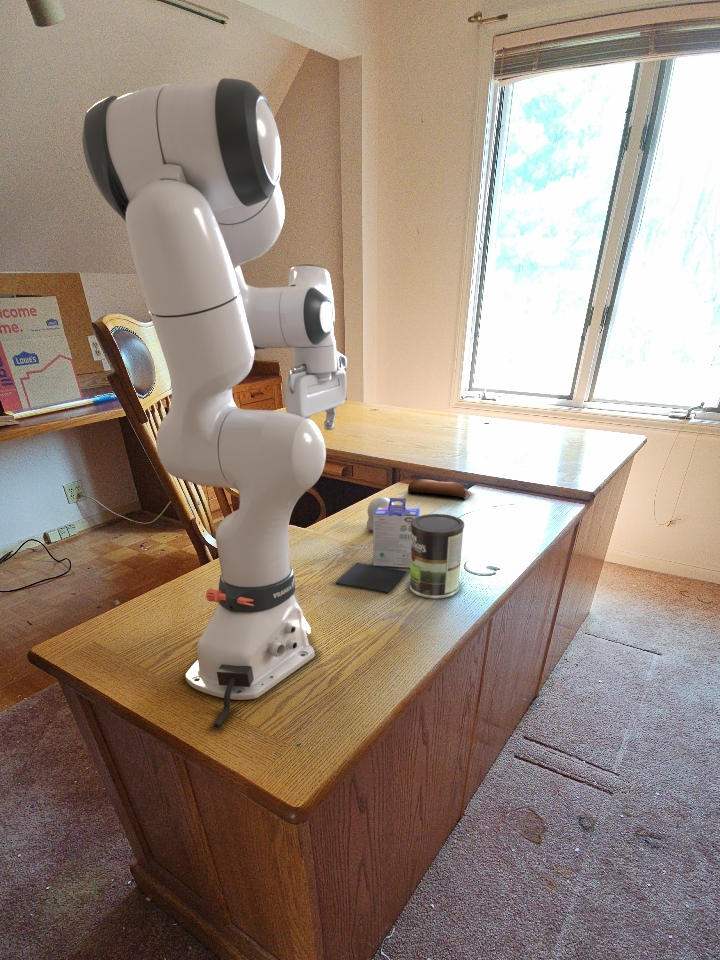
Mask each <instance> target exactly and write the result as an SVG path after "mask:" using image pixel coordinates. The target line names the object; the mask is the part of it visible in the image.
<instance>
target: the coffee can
mask: <svg viewBox="0 0 720 960" xmlns="http://www.w3.org/2000/svg"><path fill="white" fill-rule="evenodd" d="M411 527H412V532H411V568H410V572H409V573H410V575H409V578H410V579H409V589H410V591H411V592H412V593H413V594H415V595H416V596H419V597H422V598H426V599H433V600H434V599H438V600H439V599H445V598H449V597H452V596H454V595H456V594H457V593H458V592H459V590H460V574H461V562H462V551H463V550H462V548H463V536H464V528H465V521H464V520H462V519H461V518H460V517H458V516H454V515H450V514H443V513H429V514H428V513H427V514H423V515H420V516H419V517H416V518H415V519H413V520H412V521H411Z"/></svg>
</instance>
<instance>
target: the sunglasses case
mask: <svg viewBox="0 0 720 960" xmlns="http://www.w3.org/2000/svg"><path fill="white" fill-rule="evenodd" d="M407 493H408V494H410V493H424V494H425V493H429V494H435V495H443V496H453V497H460V498H463V500H467V499H468V498H469V497H470V496H471V494H472V492H471V491H470V490H468V489H467V488H465V486H464V485H463V484H460V483H458V482H456V481H443V480H442V481H437V480H434V479H433V480H432V479H425V478H424V479H415V480H411V481H410V482H409V483H408V487H407Z"/></svg>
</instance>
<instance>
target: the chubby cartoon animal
mask: <svg viewBox="0 0 720 960" xmlns="http://www.w3.org/2000/svg"><path fill="white" fill-rule="evenodd" d="M389 501H390V498H388V497H385V496H378V497H375V498H373V499H372V500H371V501H370V503H368V506H367V510H366V511H367V512H366V513H367V517H368V518H367V521H366V529H367V530H369V531H373V514H374V512H375V511H376V509H377V508H378V507H379V508H388V506H389ZM391 504H392V505H395V503H394V502H392V503H391ZM401 505H403V503H401Z"/></svg>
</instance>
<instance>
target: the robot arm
mask: <svg viewBox="0 0 720 960" xmlns="http://www.w3.org/2000/svg"><path fill="white" fill-rule="evenodd" d="M81 137H82V139H81V140H82V150H83V154H84V159H85V162H86V167H87V168H88V172H89V174H90V177H91V179H92V181H93V183H94V184H95V186H96V188H97V190H98V192H99V193H100V195H101V196H102V197H103V199H104V200H105V201H106V203H107V204H108V205H109V206H110V207H111V208H112V209H113V211H114V212H115V213H116V214H118V215H119V216H120V217H121V219H123V221H124V222H125V224H126V231H127V235H128V241H129V246H130V251H131V256H132V261H133V265H134V268H135V272H136V276H137V279H138V283H139V286H140V289H141V293H142V296H143V299H144V301H145V302H144V303H145V305H146V307H147V310H148V313H149V316H150V319H151V321H152V324H153V328H154V330H155V333H156V336H157V339H158V342H159V345H160V348H161V351H162V353H163V357H164V360H165V363H166V367H167V371H168V374H169V379H170V386H171V400H170V405H169V406H170V407H169V410H168V412H167V414H166V415H165V416H164V417H163V418H162V420H161V422H160V424H159V426H158V429H157V433H156V441H155V442H156V443H155V444H156V452H157V455H158V459H159V461H160V463H161V465H162V466H163V469H164V470H165V471H166V472H167V473H168V474H170V476H172V477H174V478H177V479H180V480H182V481H185V482H188V483H191V484H194V485H197V486H201V487H212V488H213V487H214V488H221V489H233V490H237V491H238V494H239V507H238V509H237V510H234V511H232V512H231V513H229V514H228V515H226V516H225V517H223V519H221V521H220V523H219V524H218V526H217V528H216V530H215V544H216V550H217V553H218V555H217V556H218V562H219V567H220V575H219V582H218V589H215V588H212V587H210V588H207V590H206V593H205V599H206V600H207V602H215V603H217V605H216V608H215V610H214V611H213V613H212V615H211V617H210V619H209V621H208V623H207V624H206V627H205V628H204V630H203V631H202V634H201V636H200V637H199V639H198V642H197V646H196V654H197V655H196V656H197V660H196V661H195V662H194V663H193V664H192V665H191V667H190V668H189V669H188V670H187V671H186V673H184V676H185V677H184V678H185V681H186V683H187V684H188V685H189V686H190V687H192V688H193V689H195V690H196V691H199V692H201V693H204V694H207V695H209V696H214V697H216V698H221V699H223V708H222V712H221V714H220V715H219V717H218V718H217V719H216V721H215V722H214V723H213V727H214V728H215V729H219V728H220V727H221V726H222V724H223V723H224V722H225V720H226V719H227V717H228V715H229V712H230V710H231V709H230V707H231V705H230V704H231V702H230V701H231V700H234V701H235V700H237V701H248V700H255V699H258V698H259V697H262V695H264V694H266V692H268V691H269V690H271V689H272V688H274V687H275V686H276V685H278V684H280V683H281V682H282V681H283V680H285V679H286V678H287V677H289V676H290V675H292V674H293V673H294V672H295V671H297V670H298V669H300V668H301V667H303V666H305V664H307V663H309V662H310V661H311V660H313V659H314V658H315V657H316V654H315V649H314V648H313V646H312V645H310V644H309V639H308V634H311V627H310V624H309V623H308V622H307V621H306V618H305V617H304V613H303V610H302V608H301V606H300V605H299V602H298V601H297V598H296V596H295V593H296V576H295V574H294V569H293V567H292V566H291V558H290V542H289V541H290V540H289V527H290V521H291V516H292V513H293V510H294V508H295V506H296V504H297V503H298V501H299V500H300V498H301V497H302V496H303V495H304V494H305V493H306V492H308V491H309V490H310V489H311V488H312V487H313V486H314V485H316V483H317V482H318V481H319V479H320V478H321V475H322V474H323V473H324V469H325V466H326V459H327V448H326V447H327V446H326V443H325V439H324V436H323V434H322V431H321V430H320V429H319V427H318V425H317V424H316V423H315V421H314V420H312V419H311V416H315V415H317V414H319V413H323V412H325V413H326V415H325V420H324V421H323V425H324V430H325V431H333V430H334V429H335V420H336V416H337V412H338V409H337V407H339V406H342V405H345V403H346V399H347V373H346V370H345V369H346V368H347V367H348V359H347V357H346V356H345V355H343V354H342V353H340V352H339V351H338V350H337V343H336V338H335V335H334V327H335V321H336V320H335V319H336V317H335V316H336V315H335V304H334V302H335V301H334V294H333V289H332V288H333V287H332V282H331V277H330V276H331V275H330V273H329V271H328V270H327V269H326V268H324V266H321V265H317V264H309V263H308V264H306V263H303V264H297V265H294V266H292V267H291V268H289V271H288V281H287V283H288V284H287V286H273V287H271V286H270V287H258V286H257V287H256V286H252V285H249V284H247V283H246V281H245V276H244V275H243V271H242V268H241V266H242V265H244V264H246V263H248V262H252V261H254V260H256V259H259V258H261V257H262V256H264V255H265V254H267V252H268V251H270V249H271V248H272V247H273V246H274V245H275V243H276V241H277V240H278V239H279V236H280V234H281V232H282V230H283V226H284V223H285V215H286V214H285V213H286V207H285V201H284V196H283V191H282V187H281V184H280V178H281V174H282V146H281V145H282V144H281V138H280V133H279V130H278V125H277V122H276V120H275V117H274V113H273V110H272V108H271V105H270V103H269V100H268V98H267V97H266V96H265V95H264V94H263V93H262V92H261V91H260V89H258V88H257V87H256V86H255V85H254V84H253V83H252V82H250V81H247V80H243V79H239V78H226V77H225V78H224V77H223V78H221V79H220V80H219V81H218V82H211V81H210V82H208V81H207V82H188V83H178V84H170V83H162V84H157V85H153V86H148V87H145V88H142V89H141V88H140V89H138V90H135V91H133V92H129V93H127V94H124V95H122V96H120V97H119V96H117V95H110V96H108V97H106V98H103V99H102V100H100V101H98V102H96V103H95V104H94V105H92V106H91V107H89V109H88V110H87V111H86V113H85V115H84V119H83V128H82V134H81ZM287 348H288V349H289V348H291V356H292V365H293V366H292V367H290V371H289V373H288V374H287V379H286V381H285V388H284V390H285V394H284V397H285V411H284V410H283V411H282V410H272V409H271V410H270V409H268V410H267V409H244V408H239V407H238V406H237V405H236V403H235V399H234V395H233V389H234V388H235V387H236V386H237V385H239V384H240V383H241V382H242V381H243V380H245V379H246V377H247V376H248V375H249V373H250V372H251V370H252V368H253V365H254V361H255V355H256V354H255V353H256V352H255V351H257V350H265V349H287ZM307 633H308V634H307Z"/></svg>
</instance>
